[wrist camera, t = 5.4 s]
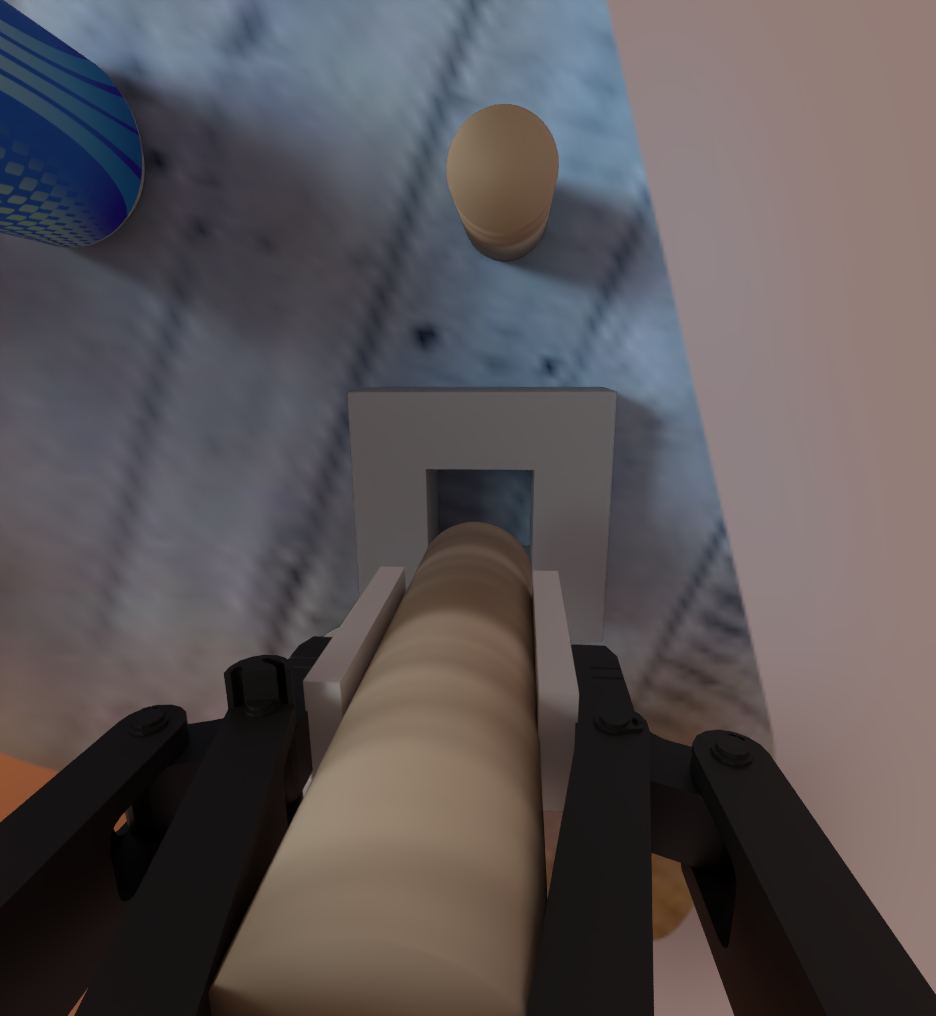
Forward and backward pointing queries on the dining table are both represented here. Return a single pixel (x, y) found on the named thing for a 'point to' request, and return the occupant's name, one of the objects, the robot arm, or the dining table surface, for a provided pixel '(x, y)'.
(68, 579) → the dining table surface
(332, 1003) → the tall dowel
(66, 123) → the beer can
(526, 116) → the short dowel
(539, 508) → the socket block
